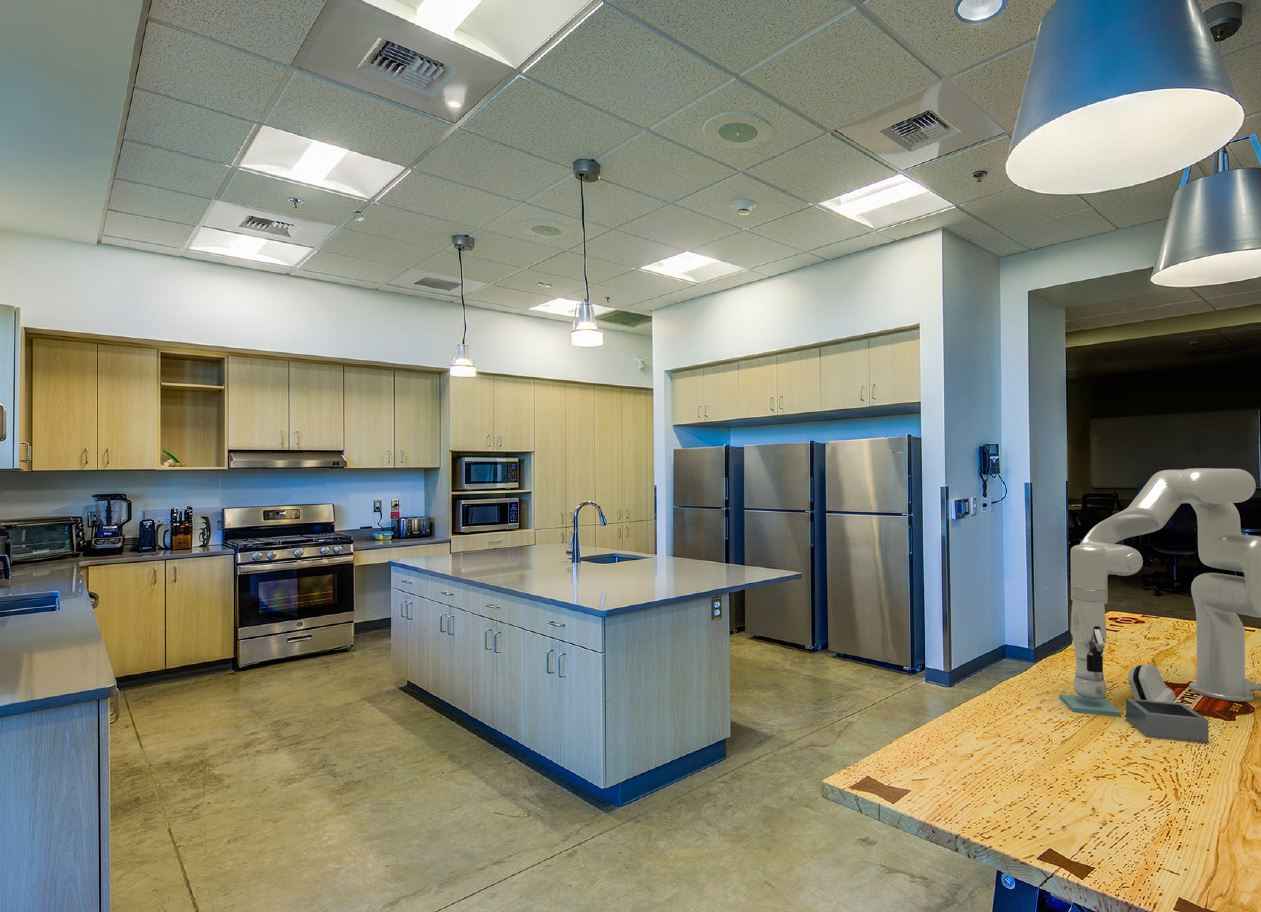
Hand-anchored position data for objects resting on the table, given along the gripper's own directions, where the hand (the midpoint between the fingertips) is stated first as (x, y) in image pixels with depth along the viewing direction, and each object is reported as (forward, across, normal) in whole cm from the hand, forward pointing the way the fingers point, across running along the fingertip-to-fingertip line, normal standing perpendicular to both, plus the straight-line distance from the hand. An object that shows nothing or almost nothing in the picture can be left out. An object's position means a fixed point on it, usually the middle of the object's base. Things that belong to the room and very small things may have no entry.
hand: (1089, 667), depth 163 cm
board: (+10, 0, 0) cm, 10 cm away
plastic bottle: (+8, 0, 0) cm, 8 cm away
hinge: (+10, -10, +17) cm, 22 cm away
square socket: (+10, +12, +11) cm, 19 cm away
